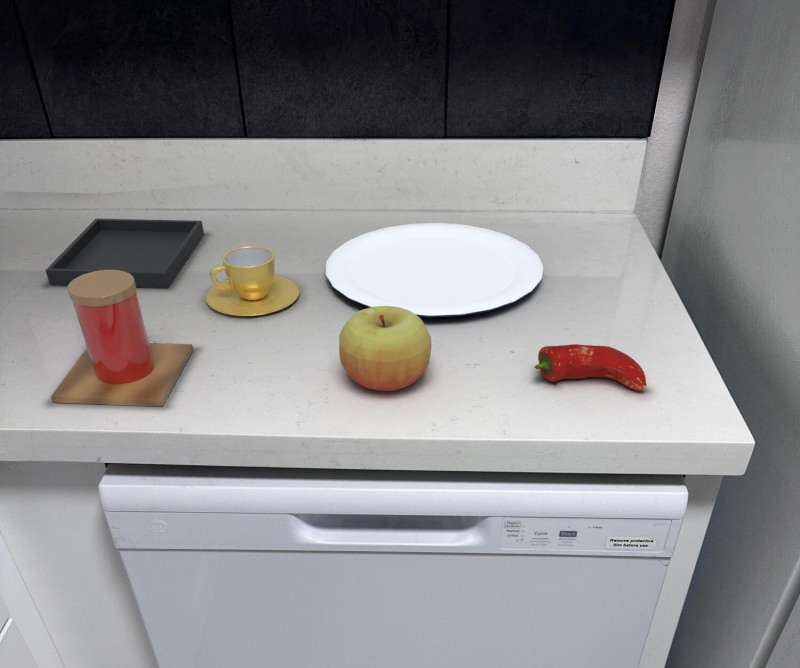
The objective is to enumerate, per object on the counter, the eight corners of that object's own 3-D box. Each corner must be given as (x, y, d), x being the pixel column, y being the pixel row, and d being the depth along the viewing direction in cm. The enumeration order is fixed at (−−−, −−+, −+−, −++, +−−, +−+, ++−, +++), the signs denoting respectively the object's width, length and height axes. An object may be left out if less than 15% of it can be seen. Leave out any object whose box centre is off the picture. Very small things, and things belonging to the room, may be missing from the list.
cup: (287, 271, 108) (282, 232, 104) (310, 309, 99) (306, 267, 96) (199, 285, 105) (191, 245, 101) (215, 325, 96) (207, 283, 93)
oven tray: (49, 285, 105) (44, 270, 104) (99, 232, 119) (95, 218, 117) (168, 288, 104) (164, 273, 103) (204, 234, 118) (201, 220, 116)
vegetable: (539, 367, 81) (652, 380, 82) (538, 327, 84) (648, 340, 84) (528, 393, 85) (636, 406, 86) (528, 354, 88) (633, 367, 88)
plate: (342, 337, 94) (341, 324, 93) (313, 242, 115) (312, 230, 114) (574, 313, 98) (576, 300, 97) (505, 225, 119) (506, 214, 118)
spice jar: (85, 383, 85) (57, 296, 78) (106, 353, 90) (81, 268, 83) (144, 385, 85) (121, 298, 78) (162, 355, 90) (142, 270, 83)
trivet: (52, 402, 84) (50, 396, 83) (94, 347, 93) (92, 340, 92) (162, 406, 83) (160, 400, 83) (193, 350, 92) (192, 344, 91)
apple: (349, 409, 82) (345, 340, 77) (333, 363, 89) (328, 296, 84) (440, 396, 84) (442, 327, 79) (417, 352, 91) (417, 286, 86)
